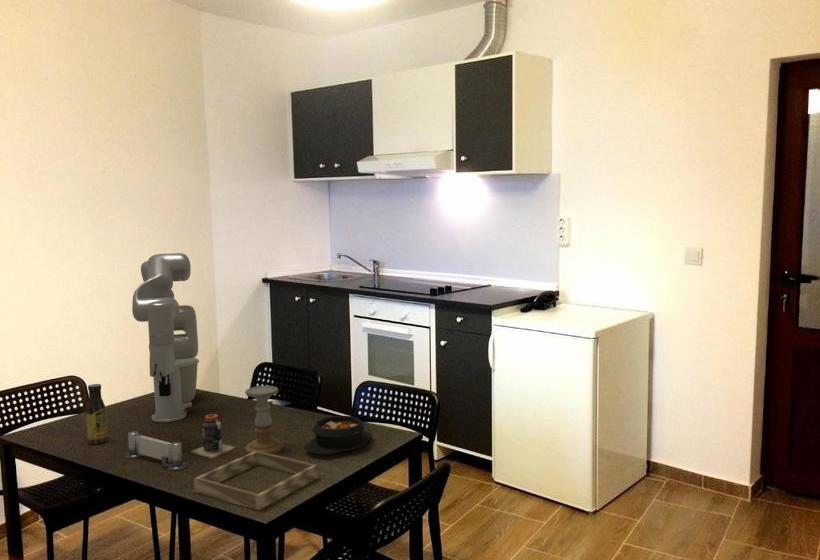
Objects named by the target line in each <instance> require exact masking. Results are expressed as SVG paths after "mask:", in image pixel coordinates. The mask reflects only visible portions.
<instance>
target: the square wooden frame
mask: <svg viewBox="0 0 820 560" xmlns="http://www.w3.org/2000/svg"><path fill="white" fill-rule="evenodd" d="M259 465H260V467H263V466H264V467H263V468H267V467H269V468H268V469H271V468H273V469H272V470H275V469H277V470H276V471H279V470H281V472H283V471H285V472H284V473H287V472H289V473H288V474H291V473H294V474H292V476H289V477H287V478H285V479H284V480H281V481H280V482H278V483H276V484H274V485H271V486H270V487H268V488H267V489H265V490H263V491H261V492H259V493H258V492H254V491H249V490H245V489H241V488H238V487H235V486H231V485H227V484H225V483H221V482H224V481H226V480H228V479H230V478H232V477H234V476H236V475H238V474H240V473H243V472H245V471H247V470H249V469H251V468H253V467H255V466H259ZM316 478H317V479H318V478H319V467H318V464H315V463H311V462H306V461H303V460H302V461H301V460H298V459H294V458H290V457H285V456H281V455H278V454H277V455H276V454H269V453H264V452H260V451H254V452H251V453H249V454H247V453H246V454H245V455H242V456H241V457H239V458H236V459H234V460H232V461H229V462H226V463H225V464H223V465H220V466H219V467H216V468H215V469H211V470H209V471H207V472H205V473H203V474H201V475H199V476H196V477H195V478H193V482H194V484H193V485H194V493H197V494H200V495H204V496H206V497H210V498H214V499H217V500H220V501H223V502H227V503H230V504H234V505H237V504H238V506H240V505H242V506H241V507H244V506H245V507H244V508H247V507H249V508H248V509H251V508H253V509H252V510H254V509H257V510H260V509H262V508H264V507H265V506H267V505H269V504H271V503H273V502H275V501H276V502H278V501H279V499H280V500H281V498H282V497H284V496H285V497H287V496H289V495H290V493H291V492H292V493H294V492H296V491H297V490H296V489H298V488H300V487H301V488H303V487H305V486H306V485H305V484H307V483H308V484H310V483H311V482H310V481H312V480H314V479H316ZM317 479H316V480H317ZM314 481H315V480H314ZM309 482H310V483H309ZM312 482H313V481H312ZM308 484H307V485H308ZM304 485H305V486H304ZM302 486H303V487H302ZM301 488H300V489H301ZM295 490H296V491H295ZM298 490H299V489H298ZM293 491H294V492H293ZM292 493H291V494H292ZM288 494H289V495H288ZM286 495H287V496H286ZM285 497H284V498H285ZM282 499H283V498H282ZM277 500H278V501H277ZM276 502H275V503H276ZM273 504H274V503H273ZM271 505H272V504H271ZM269 506H270V505H269ZM267 507H268V506H267ZM264 509H265V508H264ZM257 510H256V511H257ZM262 510H263V509H262ZM260 511H261V510H260Z"/></svg>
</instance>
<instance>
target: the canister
mask: <svg viewBox="0 0 820 560" xmlns="http://www.w3.org/2000/svg"><path fill="white" fill-rule="evenodd" d="M199 363H200V360H199V359H198V358H196V357H194V358H190V359H179V360H175V365H176V366H177V367H178V368H179V371H180V382H181V399H182V403H183V402H184V403H188V402H192V401H193V400H194V399H195V396H196V392H197V381H198V380H197V378H198V364H199Z"/></svg>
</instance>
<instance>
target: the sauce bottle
mask: <svg viewBox="0 0 820 560" xmlns="http://www.w3.org/2000/svg"><path fill="white" fill-rule="evenodd" d="M87 390H88V400H87V403H86V406H85V420H86V421H85V422H86V438H87V443H88V444H89V445H99V444H102V443H103V444H104V443H105V442H107V440H108V438H107V437H108V426H107V425H108V424H107V423H108V422H107V408H106V404H105V403H104V400H103V398H102V384H100V383H92V384H89V385H87Z"/></svg>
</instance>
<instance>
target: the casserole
mask: <svg viewBox="0 0 820 560" xmlns="http://www.w3.org/2000/svg"><path fill="white" fill-rule="evenodd" d="M312 432H313V433H314V435H315V437H313V439H311V441H310V442H309V443H307V444H306V445H305V446H304V447H303V449H304V451H306V452H309V453H312V454H316V455H322V456H329V455H333V454H339V453H345V452H350V451H353V450H357V449H359V448H361V447H363V446H365V445H366V444H367V443H368V441H369V440H370V439H371V438H373V434H372V433H371V432H369V431H367V430H365V425H364V424H363V423H362V420H361V419H360V418H358V417H355V416H351V415H333V416H332V415H331V416H326V417H324V418H321V419H319V420H317V421H316V422H315V424H314V427H313V429H312Z"/></svg>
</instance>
